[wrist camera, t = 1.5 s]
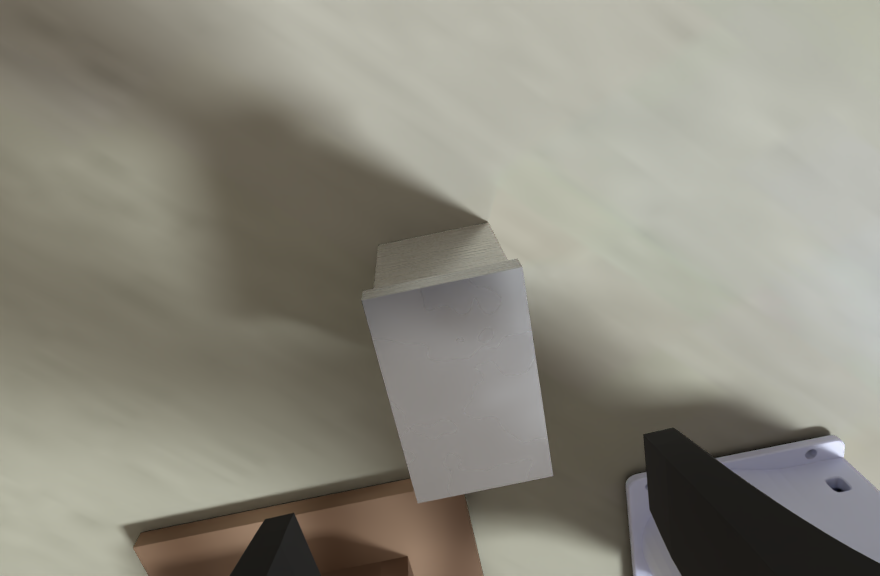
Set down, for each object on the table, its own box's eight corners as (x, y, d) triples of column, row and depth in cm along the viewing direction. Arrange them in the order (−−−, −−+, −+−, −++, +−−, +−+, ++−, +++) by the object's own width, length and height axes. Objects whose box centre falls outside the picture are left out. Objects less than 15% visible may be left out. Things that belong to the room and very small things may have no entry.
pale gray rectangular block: (484, 200, 20) (522, 267, 14) (511, 360, 22) (553, 475, 16) (372, 223, 20) (361, 300, 14) (412, 380, 23) (417, 503, 16)
